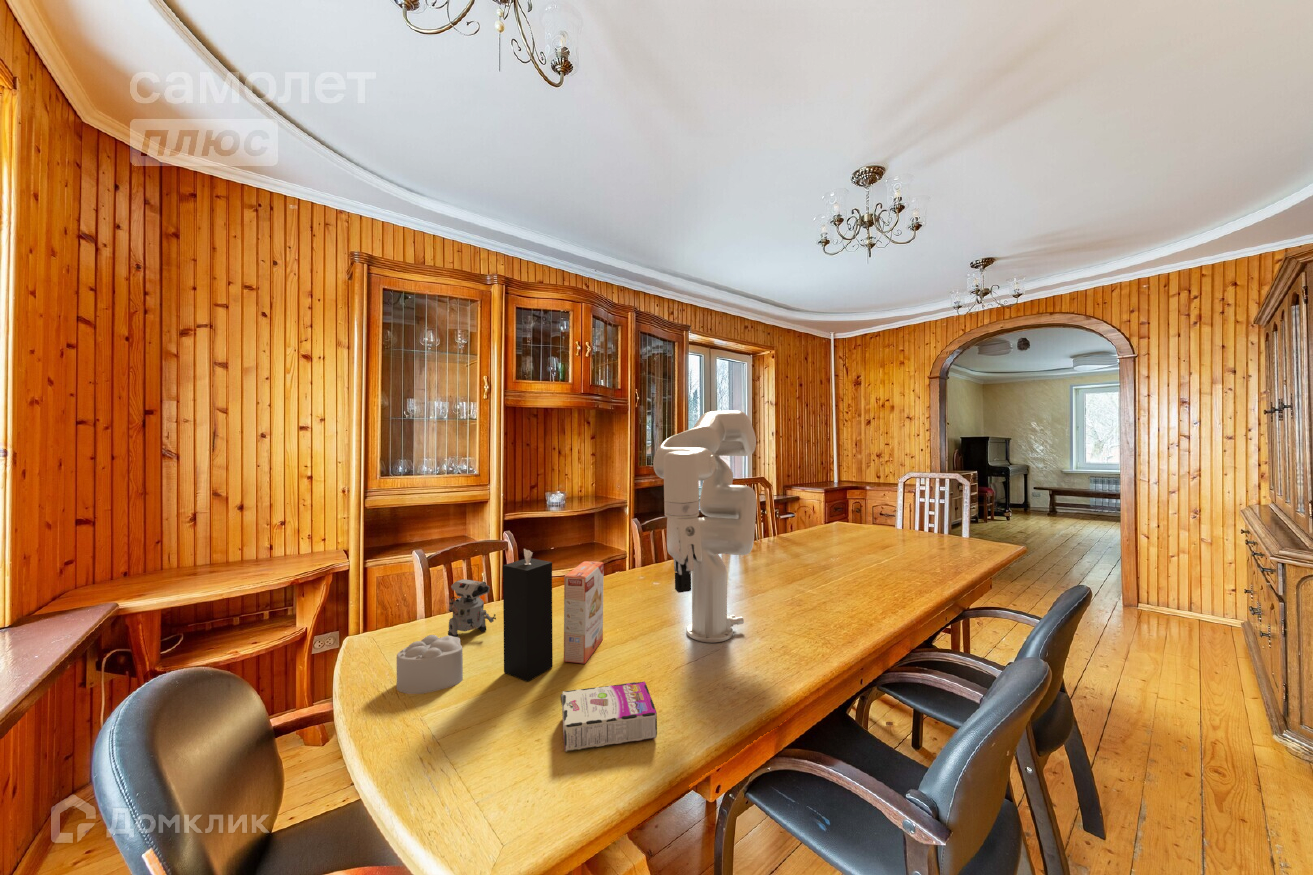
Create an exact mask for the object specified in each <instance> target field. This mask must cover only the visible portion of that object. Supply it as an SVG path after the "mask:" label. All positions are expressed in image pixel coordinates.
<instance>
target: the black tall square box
mask: <svg viewBox="0 0 1313 875" xmlns="http://www.w3.org/2000/svg"><path fill="white" fill-rule="evenodd" d="M533 553H534V552H533V551H531V550H529V549H526V548H523V556H524V559H523V558H522V559H519V560H516V561H512V562H510V563H506V564H503V565H502V575H503V576H502V581H503V582H502V584H503V585H502V586H503V587H502V588H503V590H502V591H503V593H502V594H503V595H502V598H503V601H502V602H503V603H502V604H503V609H502V610H503V612H502V613H503V672H504V674H507V675H509V676H512V677H515V678H517V679H519V680H523V681H524V682H525V681H526V682H529V681H532V680H533V679H535V678H537V677H538V676H541V675H542V674H544V673H545V672H547V671H549V670H550V669H552V668H553V665H554V664H553V661H554V660H553V658H554V656H553V562H552V561H549V560H542V559H538V558H533Z"/></svg>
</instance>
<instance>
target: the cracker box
mask: <svg viewBox="0 0 1313 875" xmlns="http://www.w3.org/2000/svg"><path fill="white" fill-rule="evenodd" d="M604 564H605V563H604V562H602V561H587V560H585V561H583V562H581V563H580V564H579V565H577V566H576V567H574V568H573V569H572V570H570V572H568V573H567V574H565V575H564V579H563V580H564V582H563V584H564V585H563V586H564V591H563V593H564V595H563V662H565V663H573V664H574V663H575V664H581V665H582V664H583V665H585V664H586V663H587V662H588V660H589V659H590V658H591V656H592V655H593V653H595V651H596V650H597V648H598V647H599V645H600V644H601V643H602V642H603V639H604Z"/></svg>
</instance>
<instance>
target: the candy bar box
mask: <svg viewBox="0 0 1313 875" xmlns="http://www.w3.org/2000/svg"><path fill="white" fill-rule="evenodd" d="M627 683H628V684H626V683H621V685H620V684H614V685H613V684H611V685H606V686H598V687H597V686H596V687H590V688H589V687H588V688H581V689H572V690H571V689H570V690H565V691H562V699H561V704H562V706H561V707H562V708H561V710H562V732H563V746H564V747H563V748H564V752H565V753H566V752H570V751H571V752H572V751H578V750H585V749H591V748H598V747H605V746H611V745H617V744H618V745H619V744H624V743H632V742H638V741H639V742H640V741H643V740H651V739H657V735H658V716H657V715H658V714H657V709H656V707H655V704H654V702H653V699H652V696H651V693H650V691H649V688H648V685H647V683H646V682H645V681H644V680H643V681H638V682H635V683H632V682H627Z"/></svg>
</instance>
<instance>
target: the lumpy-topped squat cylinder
mask: <svg viewBox="0 0 1313 875" xmlns="http://www.w3.org/2000/svg"><path fill="white" fill-rule="evenodd" d="M458 637H459V636H458ZM458 637H453V636H449V635H445V636H442V637H438V636H437V635H436V634H429V635H426V636H425V637H423V638H422V639H421V640H419V641H418V640H417V641H413V642H412V643H410V644H409V645H408V646H406V647H404V648H403V649H401V650H400V651H399V652H397V654H396V690H397V691H398V692H400V693H404V694H410V695H422V694H427V693H432V692H437V691H441V690H445V689H449V688H451V687H454V686H457V685H459V684H460V683H461V682H462V681H463V678H464V677H463V676H464V675H463V674H464V672H463V671H464V670H463V669H464V668H463V667H464V666H463V662H464V661H463V660H464V659H463V646H462V645H461V638H460V637H459V638H458Z"/></svg>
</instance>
